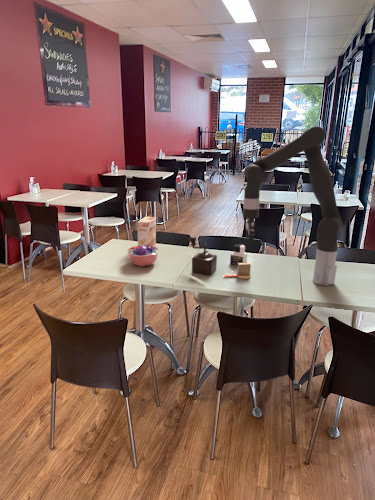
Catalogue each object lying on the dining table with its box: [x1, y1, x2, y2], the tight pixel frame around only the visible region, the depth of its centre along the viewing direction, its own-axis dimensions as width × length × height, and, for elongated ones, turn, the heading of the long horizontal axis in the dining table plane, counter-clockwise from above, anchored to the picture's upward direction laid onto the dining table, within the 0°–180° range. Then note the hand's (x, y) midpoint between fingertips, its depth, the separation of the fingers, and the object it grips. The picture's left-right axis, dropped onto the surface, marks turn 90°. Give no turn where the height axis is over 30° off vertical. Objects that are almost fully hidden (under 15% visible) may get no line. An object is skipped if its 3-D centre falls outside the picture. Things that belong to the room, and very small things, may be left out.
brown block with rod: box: [223, 262, 252, 280], centre depth 186 cm, size 14×7×7 cm, turn 98°
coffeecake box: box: [137, 216, 157, 248], centre depth 228 cm, size 15×7×20 cm, turn 167°
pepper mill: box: [188, 236, 218, 277], centre depth 193 cm, size 16×11×18 cm
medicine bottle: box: [229, 243, 248, 267], centre depth 205 cm, size 7×7×12 cm
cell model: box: [127, 245, 159, 267], centre depth 205 cm, size 17×20×11 cm
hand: (249, 239), depth 185 cm, fingers open, 8 cm apart
